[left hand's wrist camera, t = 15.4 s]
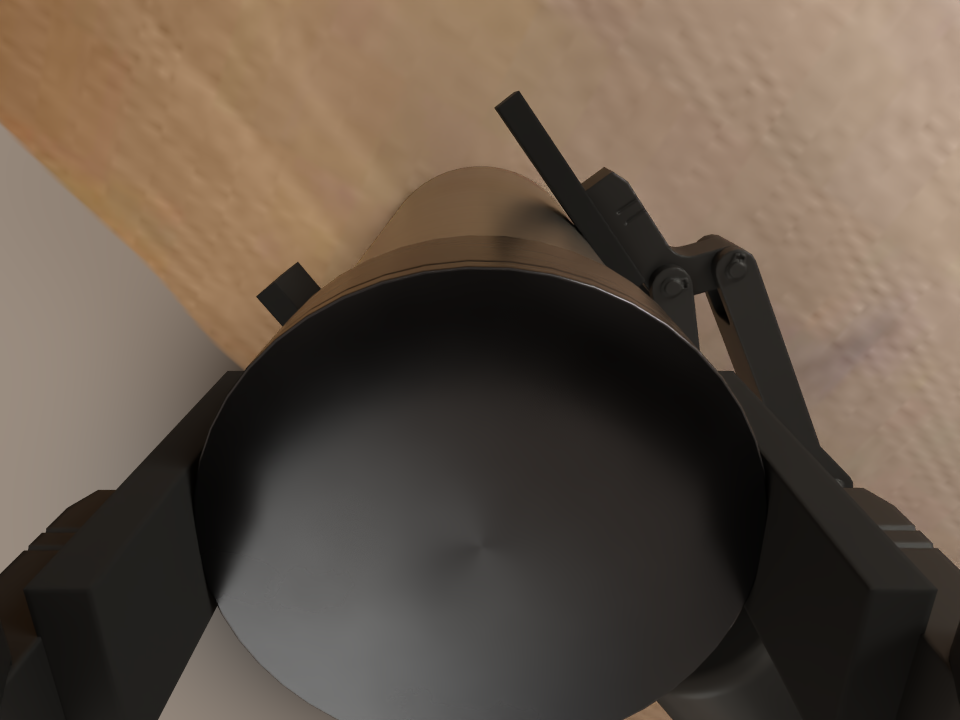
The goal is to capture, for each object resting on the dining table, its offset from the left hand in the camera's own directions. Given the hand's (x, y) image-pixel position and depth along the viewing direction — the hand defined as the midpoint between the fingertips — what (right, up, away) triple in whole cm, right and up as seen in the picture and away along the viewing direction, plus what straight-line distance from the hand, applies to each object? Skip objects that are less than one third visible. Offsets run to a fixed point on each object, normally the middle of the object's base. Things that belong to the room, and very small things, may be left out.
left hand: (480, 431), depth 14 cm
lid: (0, -1, -3) cm, 4 cm away
